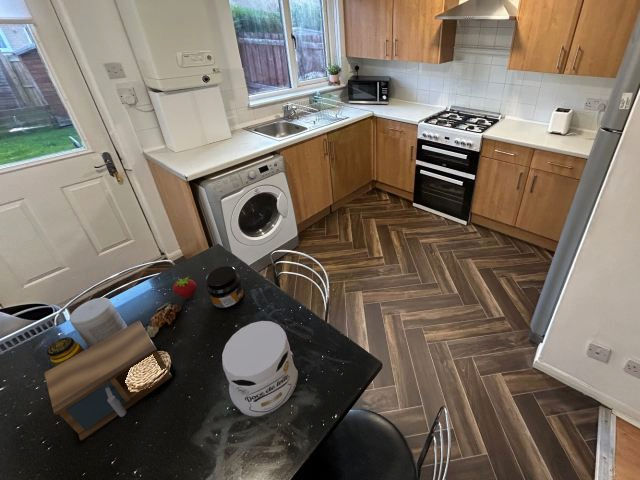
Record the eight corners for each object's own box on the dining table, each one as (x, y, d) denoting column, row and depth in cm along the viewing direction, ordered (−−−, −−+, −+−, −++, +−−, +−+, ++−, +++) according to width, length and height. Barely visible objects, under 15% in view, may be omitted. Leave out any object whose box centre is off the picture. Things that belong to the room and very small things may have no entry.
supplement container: (231, 314, 107) (222, 289, 101) (206, 307, 109) (196, 282, 103) (250, 292, 116) (244, 267, 110) (227, 285, 118) (219, 262, 112)
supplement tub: (136, 325, 103) (117, 294, 95) (121, 352, 95) (100, 319, 87) (102, 331, 101) (81, 299, 94) (85, 358, 93) (60, 326, 86)
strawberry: (184, 290, 116) (176, 270, 111) (203, 292, 115) (196, 272, 111) (174, 303, 111) (164, 283, 106) (194, 304, 110) (185, 284, 105)
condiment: (87, 380, 87) (65, 354, 81) (51, 387, 86) (27, 361, 80) (101, 356, 93) (82, 330, 88) (68, 362, 92) (47, 336, 86)
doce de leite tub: (273, 433, 76) (259, 393, 67) (219, 406, 81) (199, 366, 73) (311, 368, 90) (304, 328, 82) (263, 349, 96) (251, 309, 87)
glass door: (84, 428, 76) (63, 406, 71) (129, 397, 82) (113, 375, 77) (89, 445, 73) (68, 423, 68) (136, 412, 79) (119, 389, 74)
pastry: (138, 336, 99) (134, 329, 97) (165, 306, 110) (162, 299, 108) (159, 338, 99) (155, 331, 97) (184, 308, 109) (180, 300, 107)
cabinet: (69, 401, 82) (44, 372, 76) (155, 348, 96) (139, 320, 89) (81, 441, 75) (53, 413, 68) (172, 377, 88) (156, 348, 82)
